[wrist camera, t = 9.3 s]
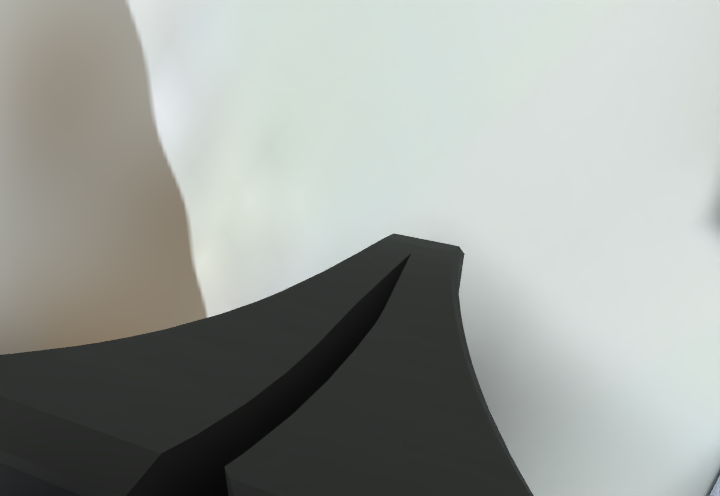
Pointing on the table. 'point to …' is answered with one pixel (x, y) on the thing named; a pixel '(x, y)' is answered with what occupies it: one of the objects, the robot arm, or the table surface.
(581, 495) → the table surface
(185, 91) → the table surface
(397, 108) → the table surface
